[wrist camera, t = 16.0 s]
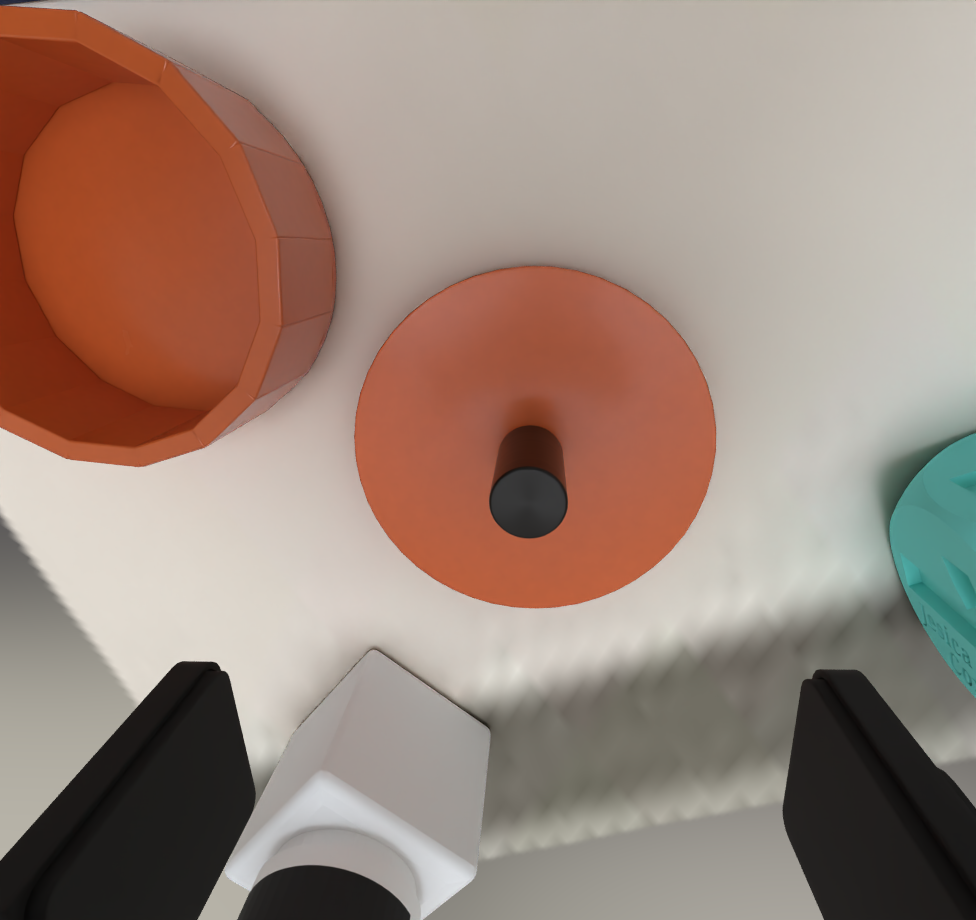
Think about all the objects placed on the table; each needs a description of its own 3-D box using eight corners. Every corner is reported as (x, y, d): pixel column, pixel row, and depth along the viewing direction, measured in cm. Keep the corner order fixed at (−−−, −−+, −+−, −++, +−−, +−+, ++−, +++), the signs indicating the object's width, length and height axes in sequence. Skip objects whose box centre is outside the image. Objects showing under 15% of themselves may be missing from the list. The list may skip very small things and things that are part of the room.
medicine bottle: (292, 731, 29) (133, 1040, 18) (373, 643, 27) (251, 932, 15) (407, 806, 30) (326, 1142, 19) (494, 727, 28) (463, 1055, 16)
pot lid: (451, 193, 20) (421, 174, 15) (783, 376, 21) (861, 417, 16) (313, 506, 24) (253, 575, 19) (592, 642, 26) (605, 741, 20)
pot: (43, -13, 19) (-117, -97, 14) (390, 177, 20) (345, 156, 15) (-18, 332, 23) (-156, 354, 18) (271, 474, 24) (208, 527, 20)
